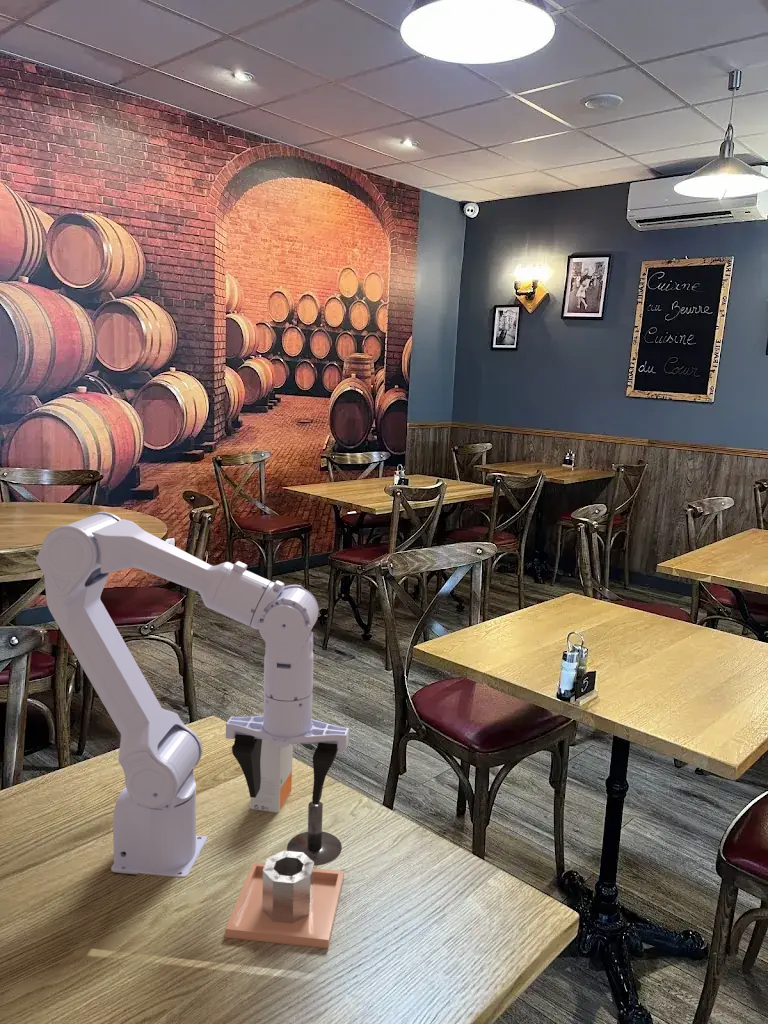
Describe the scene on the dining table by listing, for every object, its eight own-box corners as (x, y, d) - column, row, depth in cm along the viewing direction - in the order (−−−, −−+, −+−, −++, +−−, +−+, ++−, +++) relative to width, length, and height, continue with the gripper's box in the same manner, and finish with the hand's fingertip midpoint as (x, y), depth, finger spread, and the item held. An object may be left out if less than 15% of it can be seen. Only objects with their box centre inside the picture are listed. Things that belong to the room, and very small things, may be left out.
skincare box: (279, 816, 103) (280, 735, 101) (249, 811, 104) (250, 731, 102) (293, 792, 109) (294, 716, 107) (265, 788, 110) (266, 712, 108)
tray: (225, 941, 80) (225, 928, 80) (252, 873, 91) (252, 862, 91) (328, 952, 79) (328, 939, 79) (343, 882, 90) (344, 871, 90)
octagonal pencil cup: (258, 920, 83) (259, 879, 82) (270, 887, 88) (271, 849, 87) (306, 925, 82) (307, 884, 82) (315, 892, 88) (316, 853, 87)
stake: (281, 865, 93) (282, 818, 92) (293, 831, 100) (294, 787, 99) (337, 871, 92) (338, 823, 91) (345, 836, 99) (346, 792, 98)
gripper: (217, 699, 85) (216, 808, 87) (343, 711, 83) (339, 822, 86) (236, 675, 92) (235, 776, 94) (353, 686, 90) (349, 788, 93)
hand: (285, 796), depth 90 cm, fingers open, 7 cm apart
